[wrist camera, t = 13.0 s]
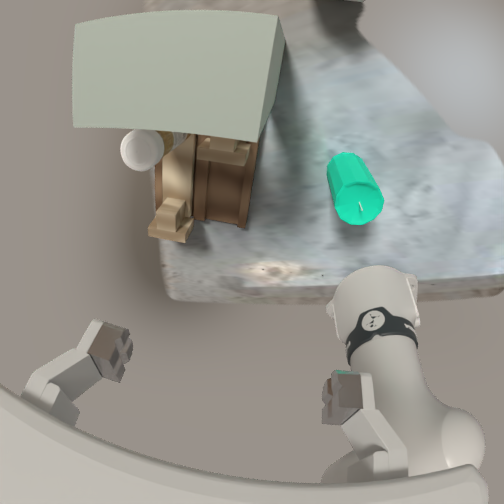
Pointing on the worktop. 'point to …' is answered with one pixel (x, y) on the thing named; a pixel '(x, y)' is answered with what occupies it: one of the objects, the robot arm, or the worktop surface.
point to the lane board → (217, 187)
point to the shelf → (178, 72)
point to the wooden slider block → (224, 150)
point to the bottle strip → (176, 194)
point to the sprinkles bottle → (149, 147)
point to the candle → (353, 189)
